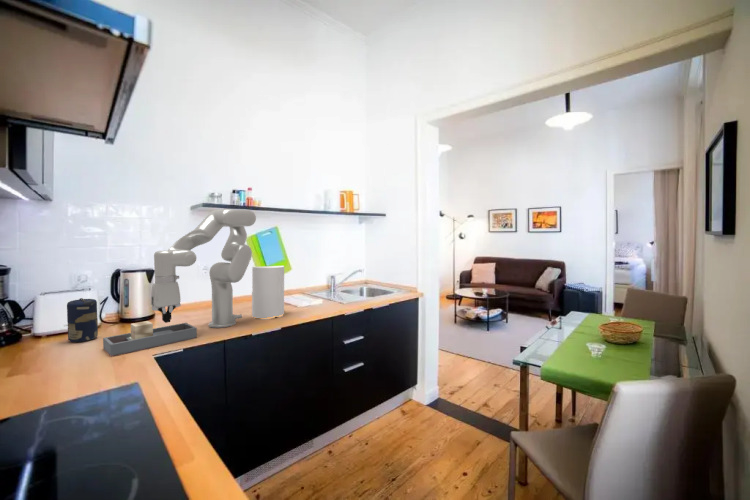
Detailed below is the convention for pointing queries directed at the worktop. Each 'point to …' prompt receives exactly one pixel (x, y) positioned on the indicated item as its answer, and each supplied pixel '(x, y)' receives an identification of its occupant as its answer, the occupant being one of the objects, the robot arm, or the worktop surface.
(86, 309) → the canister
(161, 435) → the worktop surface
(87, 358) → the worktop surface
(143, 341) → the grey shallow tray
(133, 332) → the birch block
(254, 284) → the cylinder
